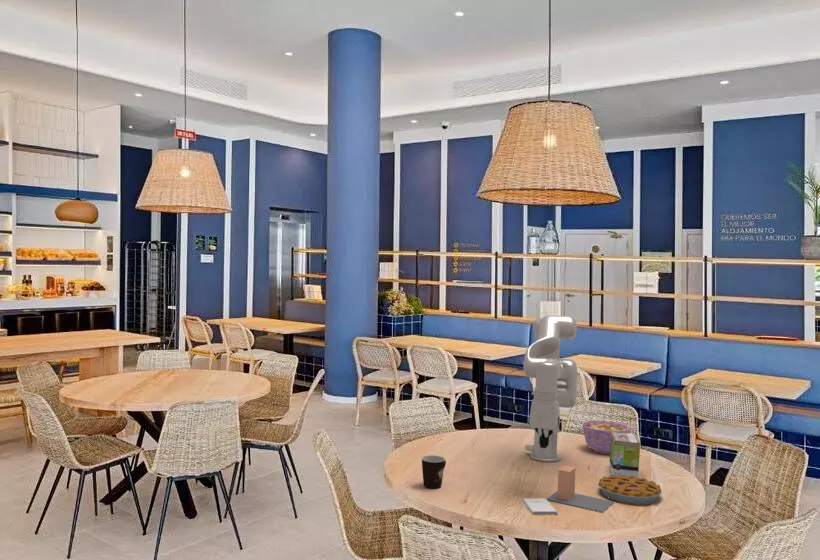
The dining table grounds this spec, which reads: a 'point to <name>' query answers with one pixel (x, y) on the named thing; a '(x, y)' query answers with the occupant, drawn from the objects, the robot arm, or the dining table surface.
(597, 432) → the bowl of food
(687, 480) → the dining table surface
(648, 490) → the pie
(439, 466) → the coffee mug
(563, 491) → the block
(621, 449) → the tea box
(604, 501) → the mat
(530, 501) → the external hard drive
